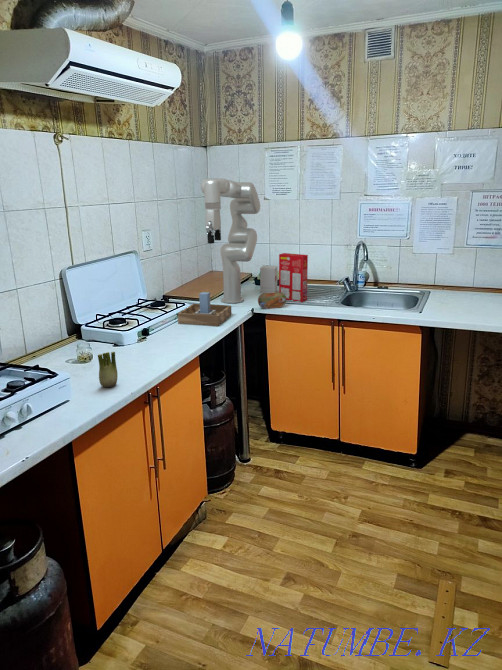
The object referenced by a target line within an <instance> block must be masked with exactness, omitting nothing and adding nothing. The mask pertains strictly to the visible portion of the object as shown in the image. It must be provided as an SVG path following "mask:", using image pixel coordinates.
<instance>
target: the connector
mask: <svg viewBox="0 0 502 670" xmlns="http://www.w3.org/2000/svg"><path fill="white" fill-rule="evenodd" d="M198 296H199V304H200V313H210V312H211V308H210V304H211V292H204V291H202V292H200V293H199V294H198Z"/></svg>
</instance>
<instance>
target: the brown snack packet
mask: <svg viewBox="0 0 502 670" xmlns="http://www.w3.org/2000/svg"><path fill="white" fill-rule="evenodd" d="M257 303H258V305H259V307H260V308H261V309H263V310H270V309H271V310H272V309H280V308H283V307H284V306H285V305H286V303H287V300H286V296H285V294H283V293H282V292H279V291H276V292H270V293H260V295H259V296H258V299H257Z"/></svg>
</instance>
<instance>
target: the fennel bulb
mask: <svg viewBox="0 0 502 670" xmlns="http://www.w3.org/2000/svg"><path fill="white" fill-rule="evenodd" d="M97 359H98V364H99V365H98V366H99V367H98V368H99V369H98V379H99V380H98V381H99V384H100V386H101V387H103V388H112V387H115V386H116V385H117V383H118V368H117V361H116V351H111V352H110V351H107V352H103V353H99V354H97Z"/></svg>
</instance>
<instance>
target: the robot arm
mask: <svg viewBox="0 0 502 670" xmlns="http://www.w3.org/2000/svg"><path fill="white" fill-rule="evenodd" d="M200 189H201V192H202V193H203V194H204V208H205V214H204V215H205V219H204V221H205V222H204V225H205V226H204V227H205V230H206V235H207V244H215V241H221V240H222V235H221V234H222V230H221V228H222V226H221V225H222V222H221V221H222V220H221V211H220V210H221V209H222V206H221V204H222V203H221V198H230V199H232V200H230V203H229V211H230V215H231V220H232V222H231V226H230V230H229V233H228V236H227V241H228V242H227V243H223V245H222V246H221V247H220V256H221V257H220V258H221V262H222V263H221V264H222V277H223V279H222V280H223V281H222V284H223V297H222V298H220V301H221V302H222V303H224V304H225V303H226V304H238V303H242V302H243V303H244V301H245V298H244V297H242V285H241V284H242V283H241V282H242V281H241V278H242V277H241V267H240V265H239V264H238V262H240V263H241V262H242V263H243V262H251V261H252V259H253V257H254V256H253V255H254V252H255V249H256V245H257V243H258V233H257V231H256V230H255V229H254V228H250V227H248V222H247V219H246V217H244V216H243V215H255V214H256V215H257V214H258V213H259V212H260V211H261V201H260V199H259V198H260V197H259V196H258V192H257V189H256V187H255V185H254V184H253V182H249V181H245V182H243V181H242V182H240V181H235V180H234V181H233V180H229V179H227V178H224V177H223V178H219V177H217V178H204V179H203V180H202V181H201V183H200Z"/></svg>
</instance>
